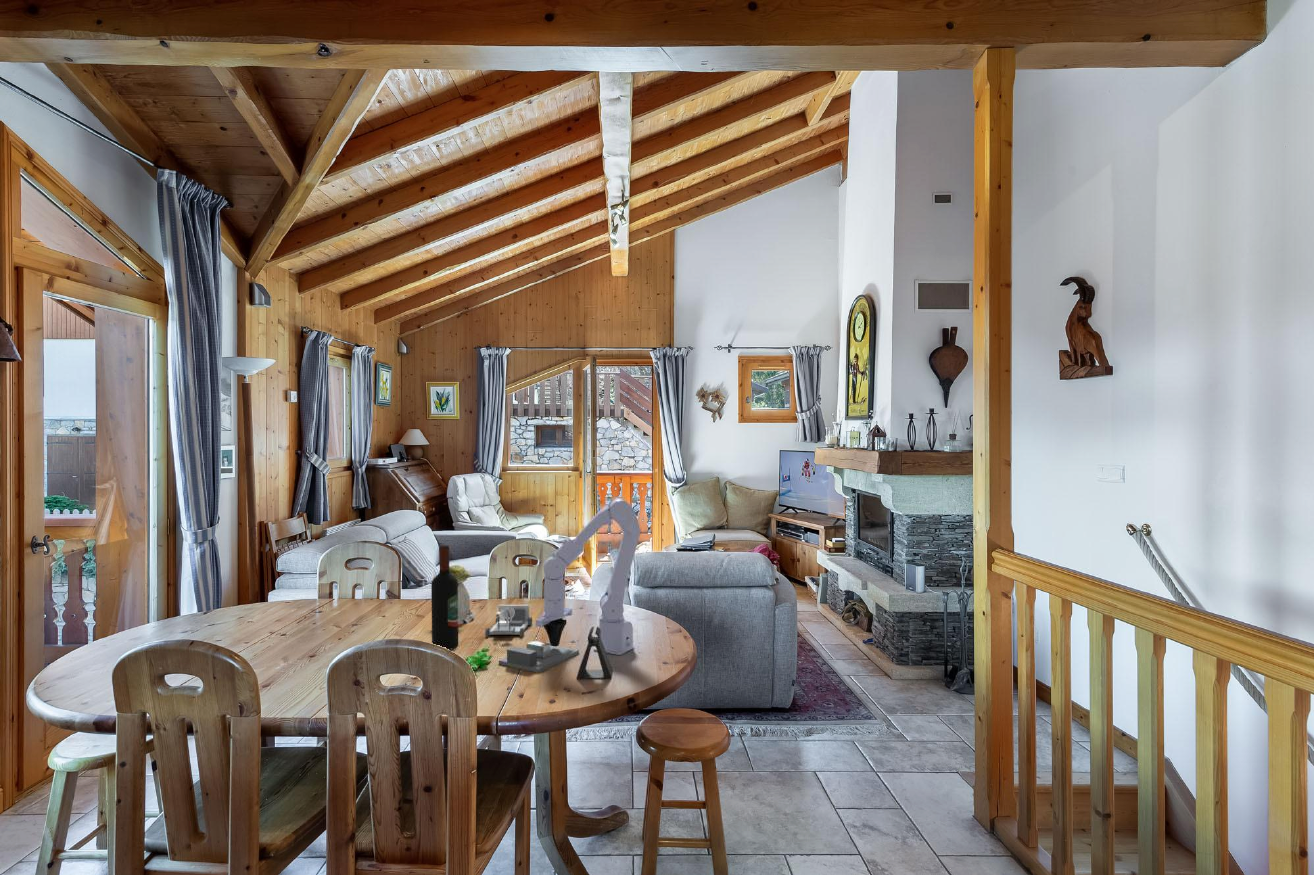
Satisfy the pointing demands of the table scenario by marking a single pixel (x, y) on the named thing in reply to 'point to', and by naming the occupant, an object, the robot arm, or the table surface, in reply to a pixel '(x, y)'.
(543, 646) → the plunger
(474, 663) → the crocodile figurine
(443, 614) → the wine bottle
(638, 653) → the table surface
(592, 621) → the table surface
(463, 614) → the yellow-capped mushroom figurine
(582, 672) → the phone stand
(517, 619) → the toy car
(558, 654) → the gauge base
